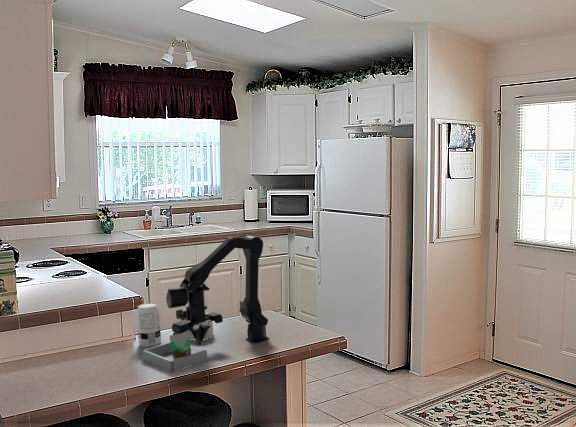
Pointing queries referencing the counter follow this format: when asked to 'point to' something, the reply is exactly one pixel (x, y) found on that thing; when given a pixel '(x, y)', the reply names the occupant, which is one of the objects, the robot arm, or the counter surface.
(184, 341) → the food container
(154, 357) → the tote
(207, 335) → the lumpy-topped squat cylinder
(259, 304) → the robot arm
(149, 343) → the supplement can
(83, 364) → the counter surface
